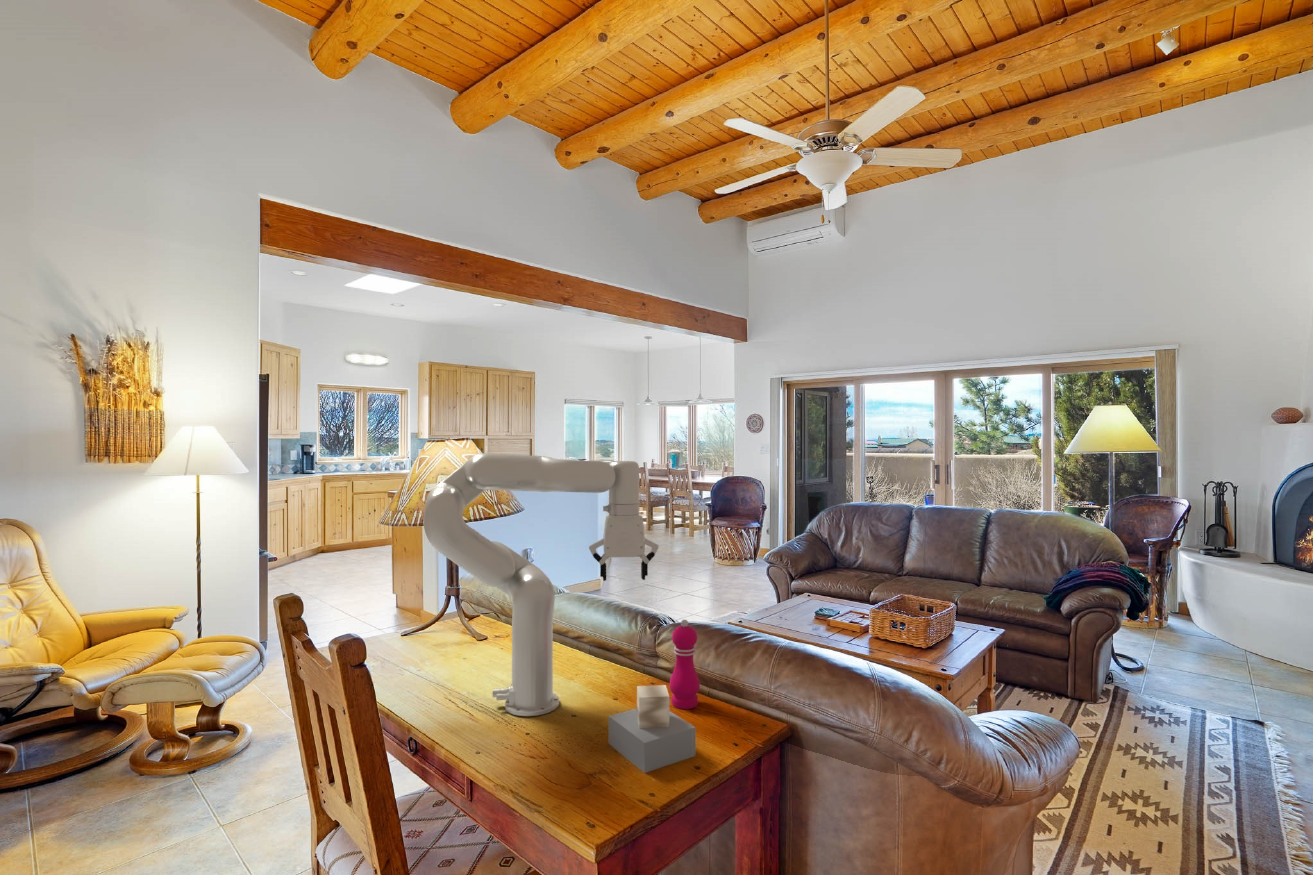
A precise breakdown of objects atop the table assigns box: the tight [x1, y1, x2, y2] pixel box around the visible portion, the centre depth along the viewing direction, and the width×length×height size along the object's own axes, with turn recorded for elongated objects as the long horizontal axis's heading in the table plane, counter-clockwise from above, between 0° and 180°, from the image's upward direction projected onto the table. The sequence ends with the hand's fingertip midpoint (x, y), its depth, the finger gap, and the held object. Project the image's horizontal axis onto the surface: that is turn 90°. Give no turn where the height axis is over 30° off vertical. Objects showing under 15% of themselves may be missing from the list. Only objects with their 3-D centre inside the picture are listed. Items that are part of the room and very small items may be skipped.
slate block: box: [608, 708, 697, 774], centre depth 128 cm, size 12×14×6 cm
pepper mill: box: [668, 619, 701, 710], centre depth 150 cm, size 7×7×20 cm
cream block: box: [636, 684, 670, 728], centre depth 128 cm, size 6×6×6 cm
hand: (623, 579), depth 156 cm, fingers open, 9 cm apart
